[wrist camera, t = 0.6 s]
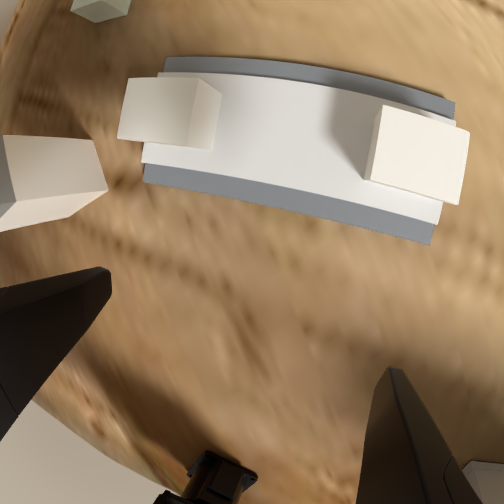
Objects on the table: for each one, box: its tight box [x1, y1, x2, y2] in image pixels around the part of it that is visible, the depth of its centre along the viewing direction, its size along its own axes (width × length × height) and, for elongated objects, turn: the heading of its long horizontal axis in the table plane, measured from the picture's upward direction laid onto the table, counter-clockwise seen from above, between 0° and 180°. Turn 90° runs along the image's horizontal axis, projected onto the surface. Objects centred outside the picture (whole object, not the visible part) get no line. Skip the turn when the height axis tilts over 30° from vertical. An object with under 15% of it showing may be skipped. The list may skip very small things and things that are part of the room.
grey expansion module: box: [0, 135, 109, 232], centre depth 20 cm, size 5×6×12 cm
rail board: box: [117, 57, 470, 245], centre depth 18 cm, size 10×21×6 cm, turn 79°
